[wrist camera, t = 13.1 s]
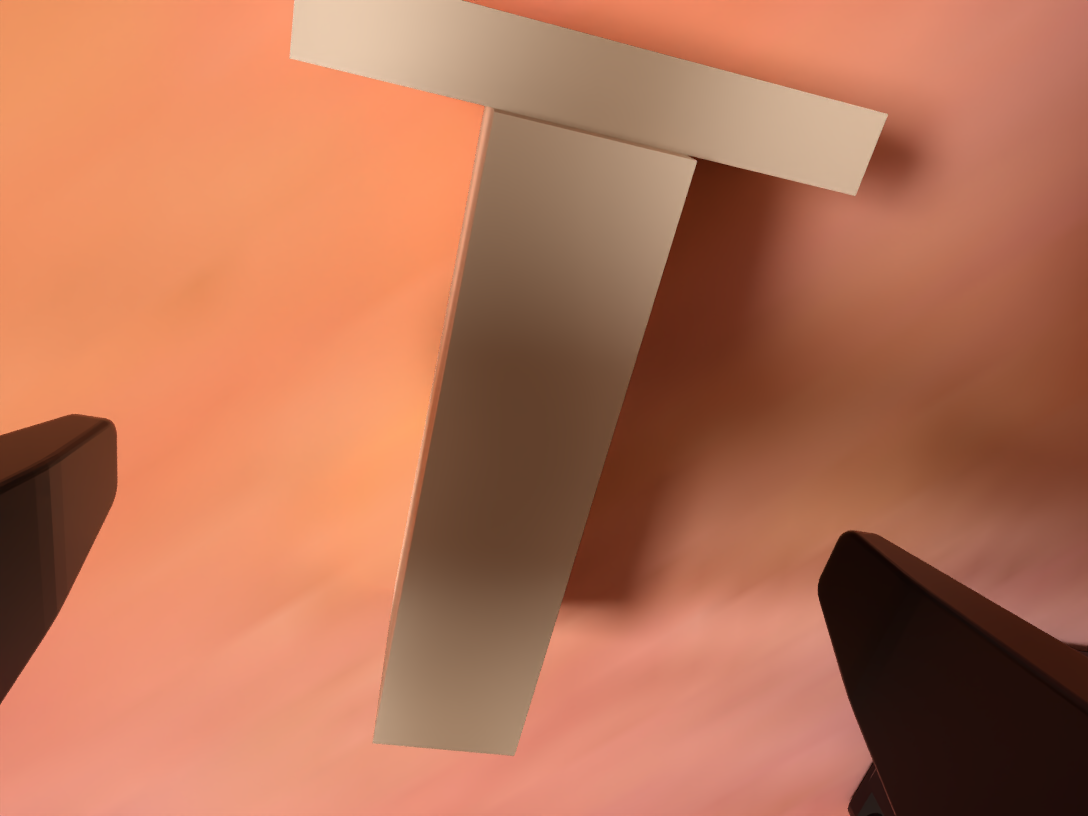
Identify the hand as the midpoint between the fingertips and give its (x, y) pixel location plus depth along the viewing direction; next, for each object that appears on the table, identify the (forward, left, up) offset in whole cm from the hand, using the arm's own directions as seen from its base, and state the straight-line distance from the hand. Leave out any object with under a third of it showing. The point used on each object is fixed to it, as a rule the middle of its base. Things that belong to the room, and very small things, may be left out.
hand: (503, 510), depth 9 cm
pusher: (0, 0, -5) cm, 5 cm away
